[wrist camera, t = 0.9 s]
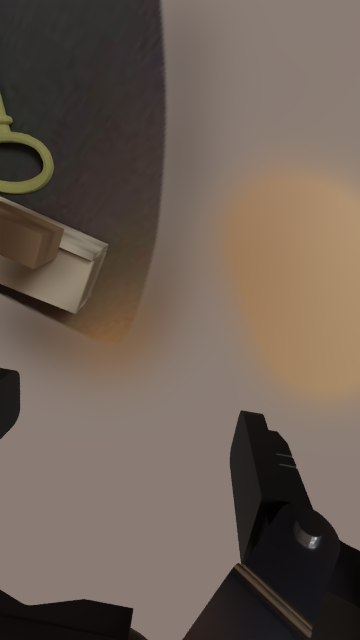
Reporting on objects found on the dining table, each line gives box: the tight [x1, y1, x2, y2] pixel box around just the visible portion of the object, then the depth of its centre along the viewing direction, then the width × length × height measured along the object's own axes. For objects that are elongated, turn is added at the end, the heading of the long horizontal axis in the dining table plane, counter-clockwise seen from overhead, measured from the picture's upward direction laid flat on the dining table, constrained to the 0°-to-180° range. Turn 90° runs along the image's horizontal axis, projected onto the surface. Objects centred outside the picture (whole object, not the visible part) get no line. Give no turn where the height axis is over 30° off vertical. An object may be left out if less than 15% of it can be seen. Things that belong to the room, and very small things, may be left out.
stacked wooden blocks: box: [0, 197, 109, 269], centre depth 25 cm, size 10×6×9 cm, turn 66°
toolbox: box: [0, 247, 107, 314], centre depth 28 cm, size 10×5×5 cm, turn 66°
